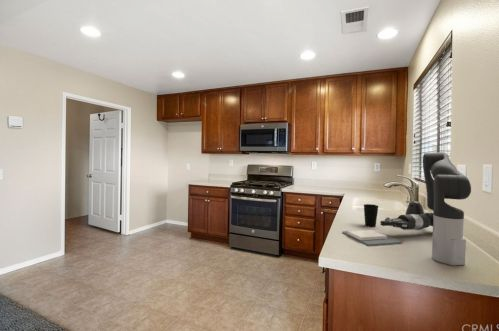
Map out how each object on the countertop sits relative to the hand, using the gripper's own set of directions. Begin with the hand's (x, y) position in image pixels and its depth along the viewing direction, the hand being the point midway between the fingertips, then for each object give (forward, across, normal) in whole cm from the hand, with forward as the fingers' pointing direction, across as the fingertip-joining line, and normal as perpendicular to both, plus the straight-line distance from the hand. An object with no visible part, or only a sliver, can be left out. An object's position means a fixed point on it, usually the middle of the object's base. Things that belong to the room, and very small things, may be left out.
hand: (381, 223), depth 126 cm
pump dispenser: (-34, -13, +7) cm, 37 cm away
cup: (-10, -20, +7) cm, 23 cm away
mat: (+6, 0, +7) cm, 9 cm away
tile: (+1, 0, +5) cm, 5 cm away
